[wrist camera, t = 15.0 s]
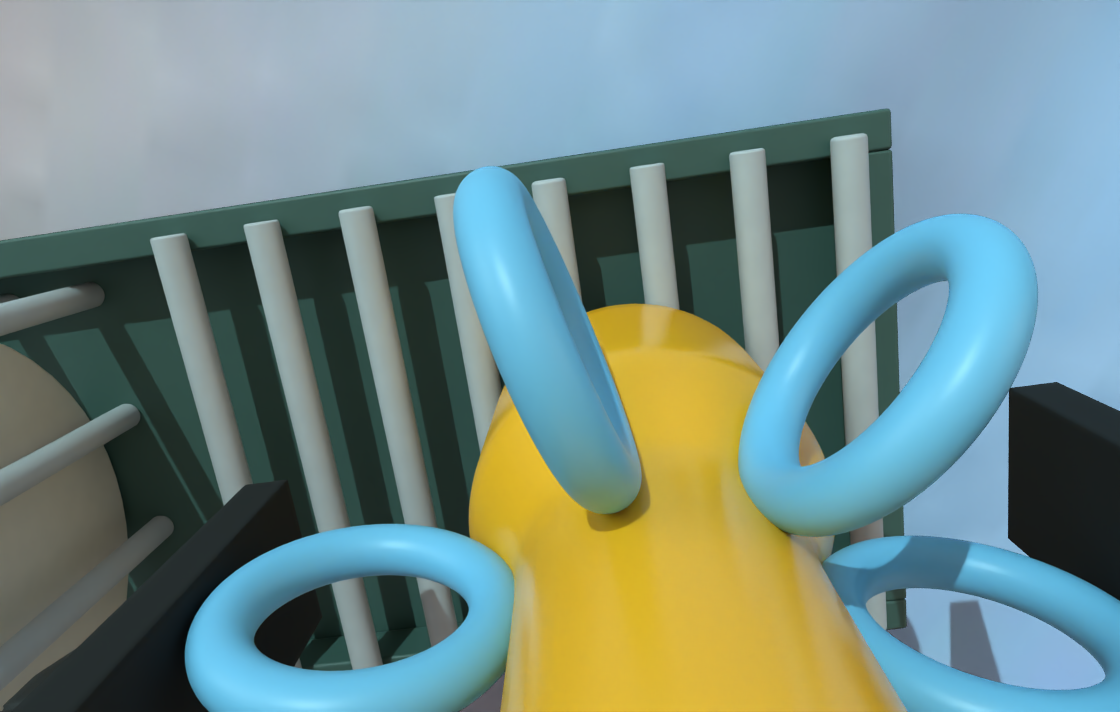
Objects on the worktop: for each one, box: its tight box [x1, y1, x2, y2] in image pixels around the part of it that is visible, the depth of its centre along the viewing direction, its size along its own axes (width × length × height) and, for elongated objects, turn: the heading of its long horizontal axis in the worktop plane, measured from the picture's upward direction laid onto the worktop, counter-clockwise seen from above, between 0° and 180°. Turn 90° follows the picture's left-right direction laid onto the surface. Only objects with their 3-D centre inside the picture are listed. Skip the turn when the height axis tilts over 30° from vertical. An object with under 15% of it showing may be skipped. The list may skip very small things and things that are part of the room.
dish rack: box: [0, 109, 907, 711], centre depth 14 cm, size 22×12×11 cm, turn 98°
